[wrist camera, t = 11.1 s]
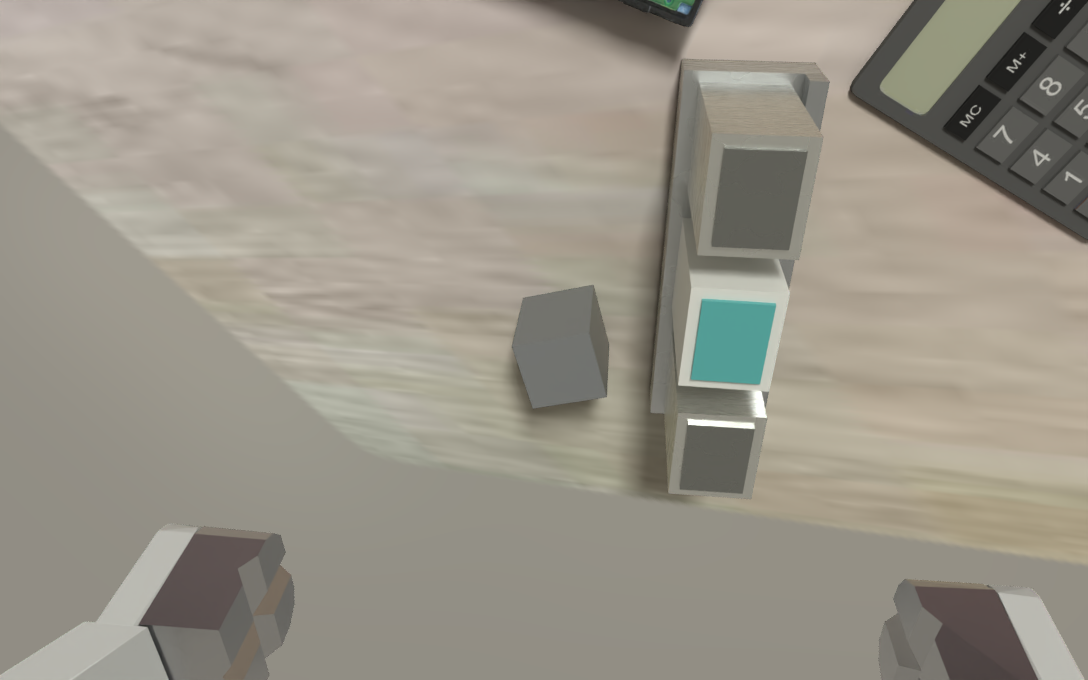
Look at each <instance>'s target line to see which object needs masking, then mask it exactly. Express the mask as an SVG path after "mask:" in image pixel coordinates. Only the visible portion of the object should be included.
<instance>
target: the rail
mask: <svg viewBox="0 0 1088 680" xmlns="http://www.w3.org/2000/svg"><path fill="white" fill-rule="evenodd" d="M829 83H830V81H829V80H828V79H827V78H826V76H825V75H824V74H823V72H822V71H821V70H820V69H819V67H818V66H817V65H816V63H800V62H765V61H730V60H694V59H682V63H681V73H680V84H679V94H678V104H677V115H676V125H675V136H674V146H673V156H672V167H671V177H670V188H669V198H668V208H667V219H666V229H665V240H664V250H663V260H662V271H661V281H660V292H659V302H658V312H657V323H656V333H655V344H654V354H653V364H652V375H651V385H650V413H662V414H664V422H665V441H666V460H667V479H668V493H669V494H683V495H698V496H712V497H727V498H741V499H751V497H752V492H753V487H754V482H755V477H756V472H757V467H758V462H759V457H760V452H761V447H762V442H763V437H764V432H765V427H766V422H767V415H766V410H765V408H766V403H767V398H768V393H769V392H765V391H751V390H737V389H722V388H708V387H694V386H680V385H678V379H677V367H676V354H675V342H674V330H673V317H672V299H673V291H674V283H675V275H676V267H677V259H678V251H679V242H680V234H681V226H682V218H692V223H693V230H694V236H695V243H696V249H697V255H701V256H723V257H744V258H766V259H779V262H780V265H781V268H782V271H783V274H784V277H785V280H786V283H787V286H788V288H789V286H790V281H791V276H792V271H793V266H794V261H795V260H799V257H800V252H801V247H802V242H803V237H804V232H805V227H806V222H807V217H808V212H809V207H810V202H811V197H812V192H813V187H814V182H815V177H816V172H817V167H818V162H819V157H820V152H821V147H822V142H823V136H822V134H821V132H820V129H821V123H822V118H823V113H824V108H825V103H826V98H827V93H828V88H829Z"/></svg>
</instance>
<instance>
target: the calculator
mask: <svg viewBox="0 0 1088 680" xmlns="http://www.w3.org/2000/svg"><path fill="white" fill-rule="evenodd" d="M851 91H852V92H853V93H854V94H855V95H856V96H857V97H858V98H860V99H861V100H863V101H865V102H866V103H868V104H869V105H871V106H873V107H874V108H876V109H878V110H879V111H881V112H882V113H884V114H886V115H887V116H889V117H890V118H892V119H894V120H895V121H897V122H898V123H900V124H902V125H903V126H905V127H907V128H908V129H910V130H911V131H913V132H915V133H916V134H918V135H919V136H921V137H923V138H924V139H926V140H927V141H929V142H931V143H932V144H934V145H935V146H937V147H939V148H940V149H942V150H944V151H945V152H947V153H948V154H950V155H952V156H953V157H955V158H956V159H958V160H960V161H961V162H963V163H964V164H966V165H968V166H969V167H971V168H972V169H974V170H976V171H977V172H979V173H981V174H982V175H984V176H985V177H987V178H989V179H990V180H992V181H993V182H995V183H997V184H998V185H1000V186H1001V187H1003V188H1005V189H1006V190H1008V191H1009V192H1011V193H1013V194H1014V195H1016V196H1018V197H1019V198H1021V199H1022V200H1024V201H1026V202H1027V203H1029V204H1030V205H1032V206H1034V207H1035V208H1037V209H1038V210H1040V211H1042V212H1043V213H1045V214H1047V215H1048V216H1050V217H1051V218H1053V219H1055V220H1056V221H1058V222H1059V223H1061V224H1063V225H1064V226H1066V227H1067V228H1069V229H1071V230H1072V231H1074V232H1075V233H1077V234H1079V235H1080V236H1082V237H1084V238H1085V239H1087V240H1088V0H914V1H913V2H912V4H911V5H910V6H909V8H908V9H907V10H906V11H905V13H904V14H903V15H902V17H901V18H900V19H899V21H898V22H897V23H896V25H895V26H894V27H893V29H892V30H891V31H890V33H889V34H888V35H887V37H886V38H885V39H884V40H883V42H882V43H881V44H880V46H879V47H878V48H877V50H876V51H875V52H874V54H873V55H872V56H871V58H870V59H869V60H868V62H867V63H866V64H865V66H864V67H863V68H862V69H861V71H860V72H859V73H858V75H857V76H856V77H855V79H854V80H853V82H852V84H851Z"/></svg>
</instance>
